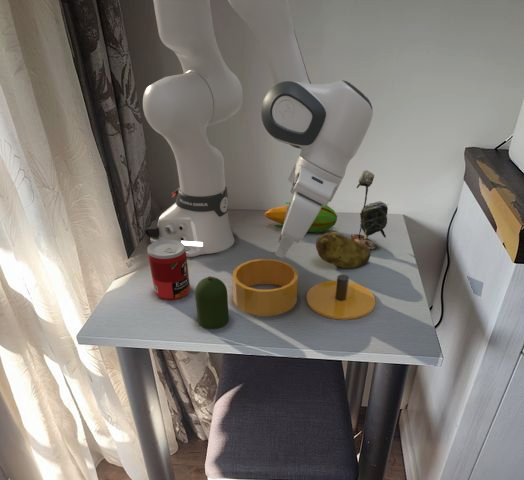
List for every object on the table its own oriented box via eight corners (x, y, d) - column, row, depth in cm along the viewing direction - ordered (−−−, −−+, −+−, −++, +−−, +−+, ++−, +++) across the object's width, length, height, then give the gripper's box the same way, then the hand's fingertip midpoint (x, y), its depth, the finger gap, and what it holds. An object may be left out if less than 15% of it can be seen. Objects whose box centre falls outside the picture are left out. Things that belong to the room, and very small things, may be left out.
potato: (366, 277, 108) (370, 245, 103) (311, 269, 111) (314, 238, 106) (369, 260, 114) (374, 230, 109) (318, 254, 117) (320, 224, 112)
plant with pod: (387, 254, 117) (401, 173, 104) (341, 252, 118) (351, 172, 105) (383, 240, 123) (396, 162, 111) (340, 238, 124) (349, 161, 111)
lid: (295, 311, 97) (297, 286, 93) (319, 279, 107) (321, 255, 104) (363, 329, 92) (367, 303, 88) (382, 293, 102) (386, 269, 99)
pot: (222, 308, 98) (220, 282, 94) (251, 279, 108) (250, 254, 104) (281, 324, 94) (281, 297, 90) (306, 292, 103) (307, 266, 99)
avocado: (192, 326, 93) (186, 281, 87) (208, 311, 98) (204, 266, 91) (219, 334, 91) (215, 288, 84) (234, 318, 95) (232, 273, 89)
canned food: (180, 304, 99) (174, 258, 93) (148, 298, 102) (139, 252, 95) (196, 287, 105) (191, 242, 98) (165, 281, 107) (158, 236, 100)
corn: (337, 209, 120) (261, 203, 123) (334, 237, 124) (261, 231, 127) (339, 200, 126) (266, 195, 129) (336, 227, 130) (266, 222, 133)
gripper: (299, 167, 93) (269, 229, 99) (297, 181, 75) (261, 256, 81) (327, 182, 94) (295, 243, 100) (331, 199, 76) (293, 272, 82)
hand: (280, 249), depth 90 cm, fingers open, 8 cm apart
